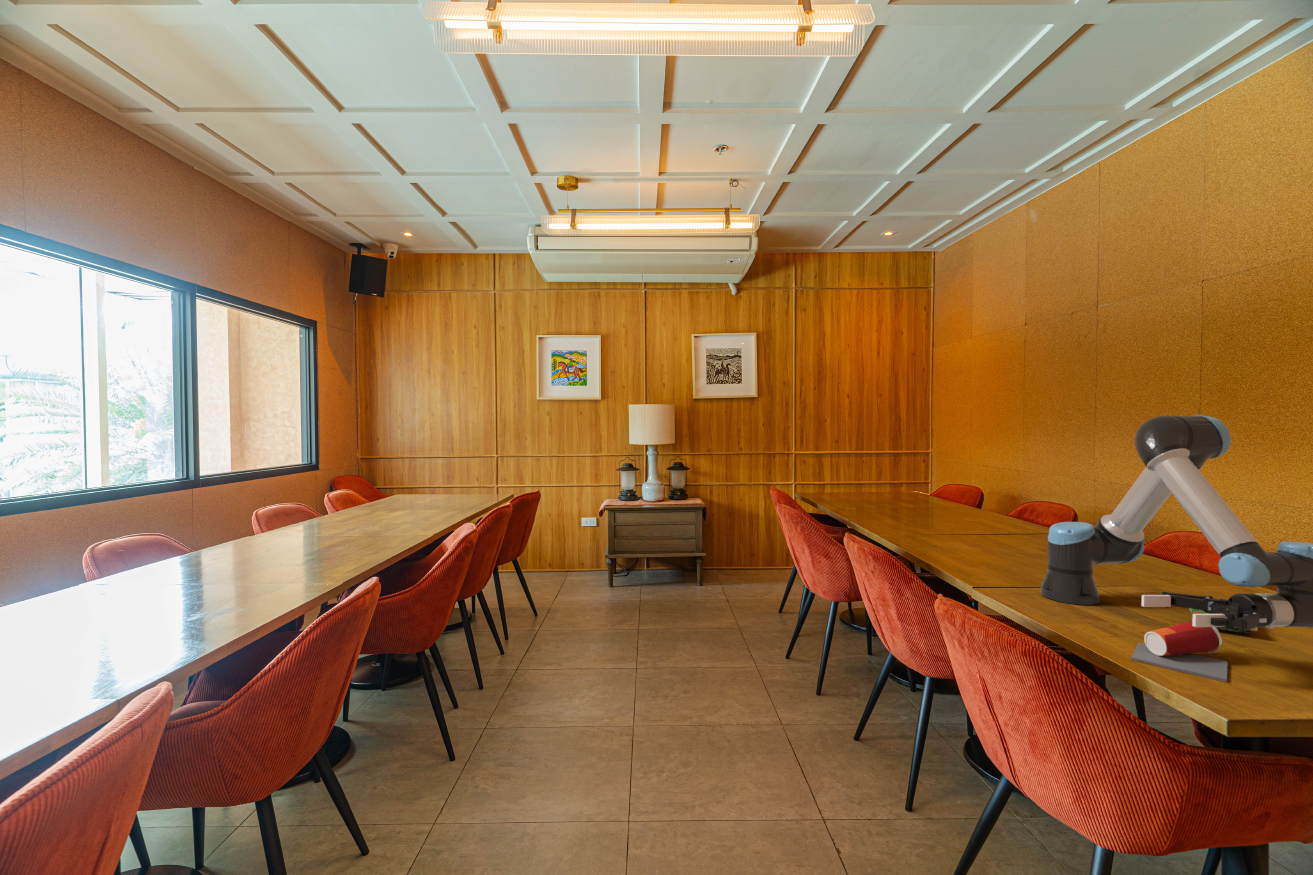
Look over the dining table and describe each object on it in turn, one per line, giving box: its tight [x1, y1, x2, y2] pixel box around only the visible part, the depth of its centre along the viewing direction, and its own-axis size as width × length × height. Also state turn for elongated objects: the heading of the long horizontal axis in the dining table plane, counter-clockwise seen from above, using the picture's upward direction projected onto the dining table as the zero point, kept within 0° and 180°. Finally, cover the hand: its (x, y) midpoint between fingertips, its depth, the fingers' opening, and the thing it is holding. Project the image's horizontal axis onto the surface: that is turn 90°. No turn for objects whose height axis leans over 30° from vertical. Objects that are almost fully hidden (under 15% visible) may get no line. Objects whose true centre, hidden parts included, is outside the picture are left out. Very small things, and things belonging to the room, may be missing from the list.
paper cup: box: [1143, 619, 1223, 656], centre depth 138 cm, size 8×8×14 cm
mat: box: [1130, 642, 1228, 683], centre depth 135 cm, size 16×13×1 cm
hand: (1166, 610), depth 136 cm, fingers open, 13 cm apart
